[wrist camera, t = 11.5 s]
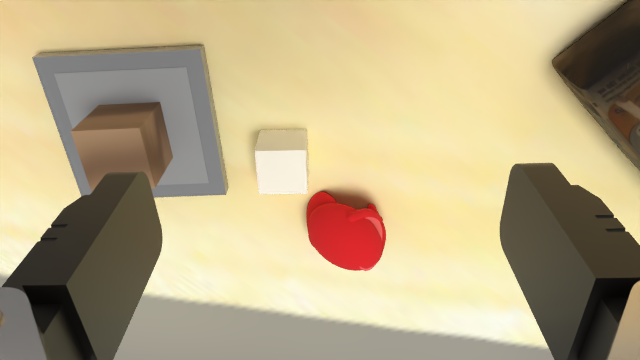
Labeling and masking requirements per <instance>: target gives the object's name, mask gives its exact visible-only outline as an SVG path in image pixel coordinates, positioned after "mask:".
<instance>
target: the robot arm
mask: <svg viewBox="0 0 640 360" xmlns="http://www.w3.org/2000/svg"><path fill="white" fill-rule="evenodd" d="M500 240H501V245H502V248H503V251H504V253H505V255H506V257H507V259H508V262H509V264H510V266H511V268H512V270H513V272H514V274H515V277H516V279H517V281H518V283H519V285H520V287H521V289H522V291H523V294H524V296H525V298H526V300H527V302H528V304H529V306H530V308H531V311H532V313H533V315H534V317H535V319H536V321H537V323H538V326H539V328H540V330H541V332H542V334H543V336H544V338H545V340H546V343H547V345H548V347H549V349H550V351H551V353H552V355H553V357H554V359H555V360H640V245H639V244H638V243H637V242H636V240H635V239H634V238H633V237H632V236H631V235H630V233H629V232H625V227H624V226H623V225H622V224H621V223H620V222H619V220H618V219H617V218H614V214H613V213H612V212H611V211H610V210H609V209H608V207H607V206H606V205H605V204H604V203H603V201H602V200H601V199H600V198H598V197H597V196H595V195H593V194H592V193H590V192H589V191H587V190H585V189H584V188H582V187H581V186H579V185H570V183H569V182H568V181H567V180H566V178H565V177H564V176H563V175H562V173H561V172H560V171H559V170H558V168H557V167H556V166H555V165H554V164H553V163H526V164H515V165H514V166H513V167H512V169H511V172H510V176H509V181H508V186H507V191H506V196H505V201H504V206H503V211H502V216H501V221H500ZM161 248H162V229H161V224H160V220H159V217H158V213H157V209H156V205H155V201H154V197H153V193H152V190H151V186H150V182H149V179H148V177H147V175H146V174H145V173H144V172H142V171H139V172H108V173H107V174H105V176H104V177H103V178H102V179H101V181H100V182H99V183H98V185H97V186H96V187H95V189H94V190H93V191H92V193H91V194H90V195H83V196H82V197H80V198H79V199H77V200H76V201H75V202H73V203H72V204H70V205H69V206H67V207H66V208H64V209H63V211H62V212H61V213H60V214H59V216H58V217H57V218H56V219H55V221H54V222H53V223H52V224H51V228H48V229H47V231H46V232H45V233H44V234H43V236H42V237H41V241H39V242H37V243H36V244H35V246H34V247H33V248H32V249H31V251H30V252H29V253H28V254H27V256H26V257H25V258H24V259H23V261H22V262H21V263H20V264H19V266H18V267H17V268H16V269H15V271H14V272H13V273H12V274H11V276H10V277H9V278H8V279H7V281H6V282H5V283H4V284H3V286H2V287H0V360H113V359H114V356H115V354H116V352H117V349H118V347H119V345H120V343H121V340H122V338H123V336H124V334H125V332H126V329H127V327H128V325H129V323H130V320H131V318H132V316H133V314H134V311H135V309H136V307H137V305H138V303H139V300H140V298H141V296H142V294H143V291H144V289H145V287H146V285H147V282H148V280H149V278H150V276H151V273H152V271H153V269H154V267H155V264H156V262H157V260H158V258H159V255H160V252H161Z"/></svg>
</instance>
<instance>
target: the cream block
mask: <svg viewBox="0 0 640 360" xmlns="http://www.w3.org/2000/svg"><path fill="white" fill-rule="evenodd" d="M255 160H256V170H257V179H258V189H259V194H308V176H309V163H308V139H307V129H297V130H260V133H259V137H258V140H257V144H256V148H255Z"/></svg>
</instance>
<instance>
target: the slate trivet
mask: <svg viewBox="0 0 640 360" xmlns="http://www.w3.org/2000/svg"><path fill="white" fill-rule="evenodd" d="M32 58H33V61H34V64H35V67H36V69H37V72H38V75H39V78H40V81H41V84H42V86H43V89H44V92H45V95H46V98H47V100H48V103H49V106H50V109H51V112H52V114H53V117H54V120H55V123H56V126H57V129H58V131H59V134H60V137H61V140H62V143H63V145H64V148H65V151H66V154H67V157H68V159H69V162H70V165H71V168H72V171H73V173H74V176H75V179H76V182H77V185H78V188H79V190H80V193H81V196H83V195H90V194H91V193H92V191H91V189H90V186H89V183H88V180H87V177H86V175H85V172H84V169H83V166H82V163H81V160H80V157H79V154H78V151H77V148H76V146H75V143H74V140H73V137H72V134H71V130H72V129H73V128H75V127H76V126H77V125H78V124H79V123H80V122H81V121H82V120H83V119H84V118H85V117H86V116H87V115H89V114H90V113H91V112H92V111H93V110H94V109H95V108H96V107H97V106H98V105H109V104H130V103H151V102H160V104H161V108H162V112H163V116H164V121H165V125H166V129H167V134H168V138H169V142H170V146H171V151H172V155H173V158H172V160H171V162H170V164H169V165H168V167H167V169H166V170H165V172H164V174H163V176H162V177H161V179H160V181H159V182H158V184H157V186H156V188H151V190H152V193H153V197H177V196H203V195H226V193H227V190H228V182H227V177H226V171H225V165H224V159H223V154H222V148H221V142H220V136H219V130H218V125H217V119H216V113H215V107H214V102H213V96H212V90H211V84H210V78H209V73H208V67H207V61H206V55H205V49H204V45H192V46H172V47H152V48H132V49H112V50H92V51H72V52H52V53H39V54H38V55H36V56H34V57H32Z"/></svg>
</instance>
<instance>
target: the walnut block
mask: <svg viewBox="0 0 640 360" xmlns="http://www.w3.org/2000/svg"><path fill="white" fill-rule="evenodd" d="M71 134H72V137H73V140H74V143H75V146H76V148H77V151H78V154H79V157H80V160H81V163H82V166H83V169H84V172H85V175H86V177H87V180H88V183H89V186H90V189H91V191H93V190H94V189H95V187H96V186H97V185H98V183H99V182H100V181H101V179H102V178H103V177H104V176H105V174H107V173H108V172H139V171H142V172H144V173H145V174H146V175H147V177H148V179H149V182H150V186H151V188H156V186H157V184H158V182H159V181H160V179H161V177H162V176H163V174H164V172H165V170H166V169H167V167H168V165H169V164H170V162H171V160H172V158H173V155H172V151H171V146H170V142H169V138H168V134H167V129H166V125H165V121H164V116H163V112H162V108H161V104H160V102H151V103H130V104H109V105H98V106H97V107H96V108H95V109H94V110H93V111H92V112H91V113H90V114H89V115H87V116H86V117H85V118H84V119H83V120H82V121H81V122H80V123H79V124H78V125H77V126H76V127H75V128H73V129H72V130H71Z"/></svg>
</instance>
